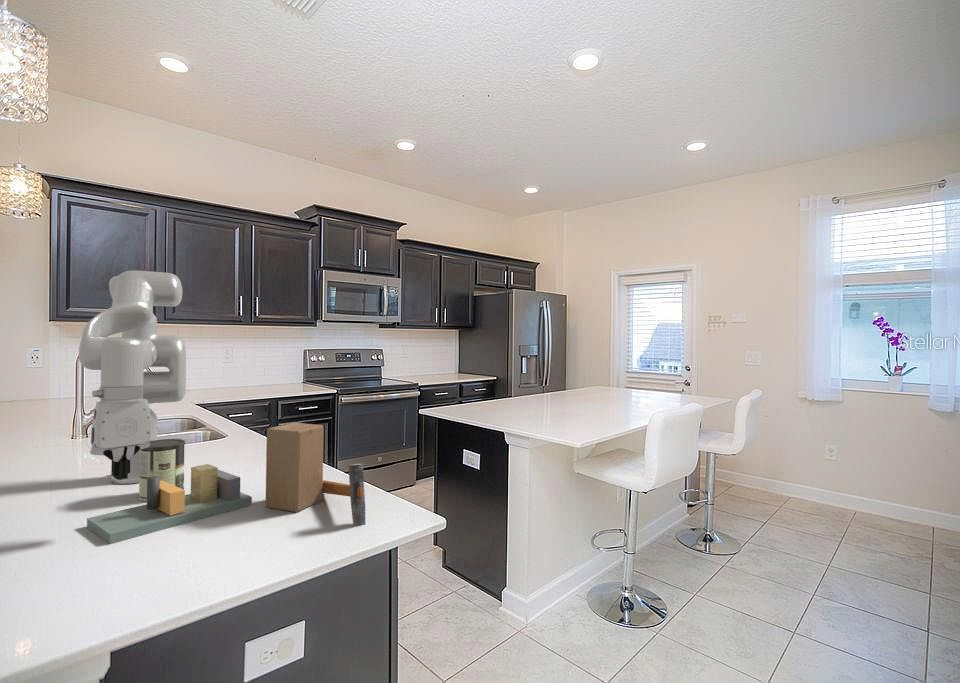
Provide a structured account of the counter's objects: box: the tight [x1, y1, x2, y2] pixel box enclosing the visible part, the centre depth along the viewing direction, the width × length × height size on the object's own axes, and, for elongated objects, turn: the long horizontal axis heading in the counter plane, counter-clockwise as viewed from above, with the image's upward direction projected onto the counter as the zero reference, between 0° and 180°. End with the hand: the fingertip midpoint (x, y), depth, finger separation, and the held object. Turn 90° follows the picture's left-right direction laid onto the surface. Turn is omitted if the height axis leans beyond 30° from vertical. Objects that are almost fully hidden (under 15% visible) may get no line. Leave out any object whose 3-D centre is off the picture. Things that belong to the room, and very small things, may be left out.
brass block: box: [190, 463, 218, 503], centre depth 120 cm, size 5×4×8 cm
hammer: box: [322, 463, 366, 527], centre depth 123 cm, size 14×2×30 cm
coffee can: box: [138, 438, 186, 502], centre depth 128 cm, size 10×10×14 cm
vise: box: [86, 468, 253, 545], centre depth 115 cm, size 14×30×7 cm, turn 145°
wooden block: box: [265, 422, 325, 513], centre depth 124 cm, size 10×10×20 cm
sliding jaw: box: [146, 476, 186, 515], centre depth 112 cm, size 12×5×8 cm, turn 55°
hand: (120, 478), depth 105 cm, fingers closed
